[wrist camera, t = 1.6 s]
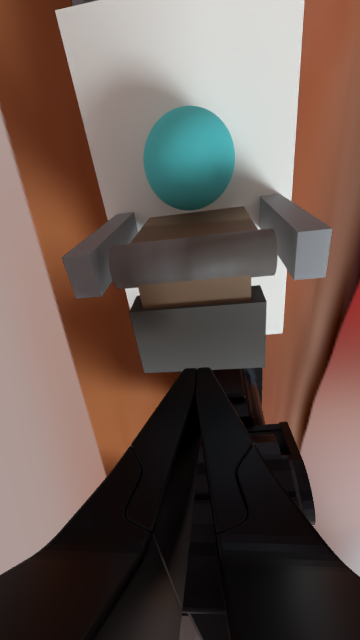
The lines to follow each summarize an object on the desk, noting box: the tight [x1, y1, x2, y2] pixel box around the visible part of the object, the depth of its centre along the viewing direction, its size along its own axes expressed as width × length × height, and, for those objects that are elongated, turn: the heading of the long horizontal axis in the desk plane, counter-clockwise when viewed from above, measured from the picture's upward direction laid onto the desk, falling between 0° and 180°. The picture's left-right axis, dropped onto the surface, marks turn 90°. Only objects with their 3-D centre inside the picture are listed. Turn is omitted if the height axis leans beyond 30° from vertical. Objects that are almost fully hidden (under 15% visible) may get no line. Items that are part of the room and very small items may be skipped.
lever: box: [109, 206, 277, 373], centre depth 13 cm, size 5×6×7 cm
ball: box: [143, 105, 235, 211], centre depth 13 cm, size 4×4×4 cm
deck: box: [55, 0, 332, 334], centre depth 14 cm, size 17×10×11 cm, turn 8°
